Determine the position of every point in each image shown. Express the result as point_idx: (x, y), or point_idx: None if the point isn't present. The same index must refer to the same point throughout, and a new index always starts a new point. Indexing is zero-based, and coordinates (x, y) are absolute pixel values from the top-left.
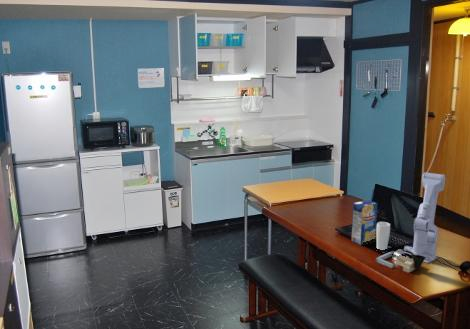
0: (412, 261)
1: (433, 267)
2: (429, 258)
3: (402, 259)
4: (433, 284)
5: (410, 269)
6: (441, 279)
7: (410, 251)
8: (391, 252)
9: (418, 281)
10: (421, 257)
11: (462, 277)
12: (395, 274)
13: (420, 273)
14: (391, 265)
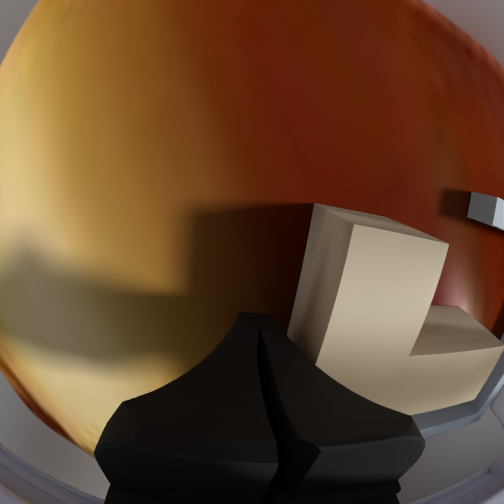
0: (344, 383)
1: None
2: (2, 453)
3: (458, 345)
4: (23, 150)
5: (314, 251)
6: (30, 294)
7: (443, 498)
8: (489, 398)
9: (131, 79)
10: (131, 484)
11: (19, 388)
12: (399, 70)
13: (196, 287)
14: (493, 196)
